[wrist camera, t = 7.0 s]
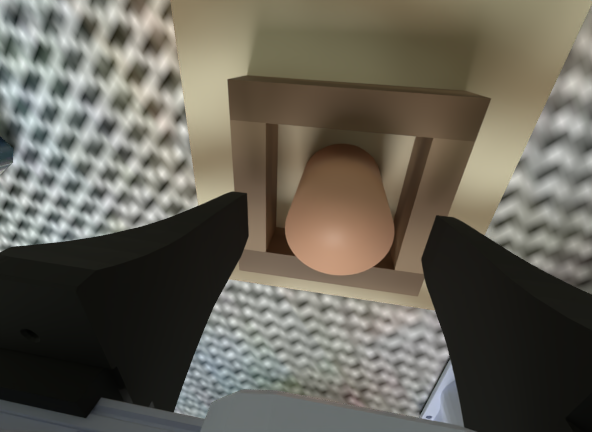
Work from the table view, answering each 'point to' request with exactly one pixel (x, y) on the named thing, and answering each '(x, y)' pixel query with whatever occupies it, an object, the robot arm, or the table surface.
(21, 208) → the table surface
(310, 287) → the socket board
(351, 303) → the table surface
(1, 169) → the grey long angled cylinder
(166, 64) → the table surface
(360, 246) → the peg
